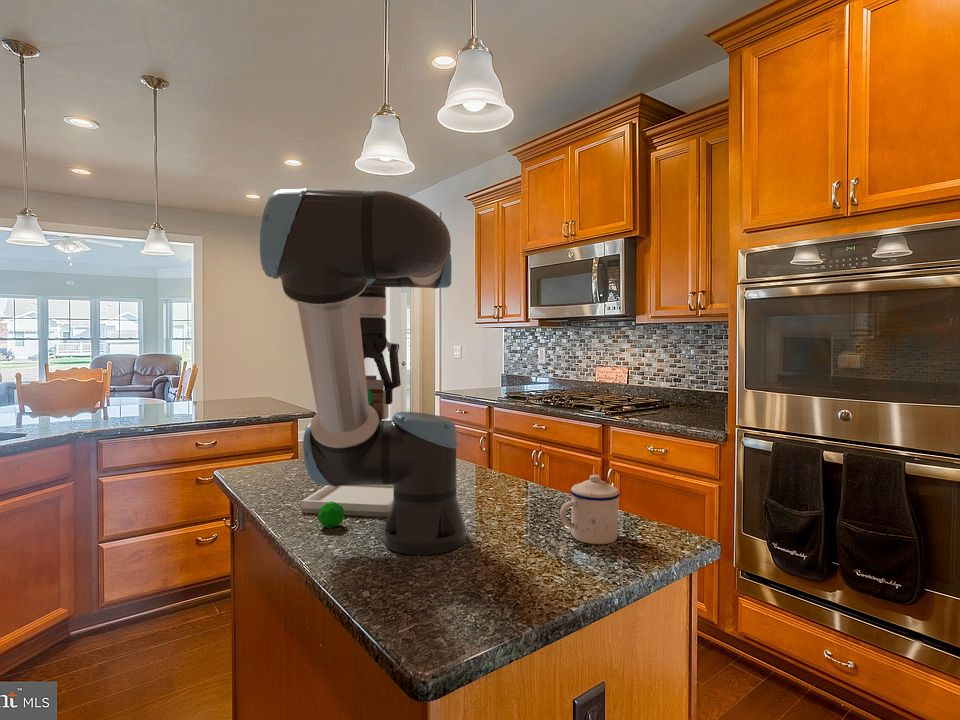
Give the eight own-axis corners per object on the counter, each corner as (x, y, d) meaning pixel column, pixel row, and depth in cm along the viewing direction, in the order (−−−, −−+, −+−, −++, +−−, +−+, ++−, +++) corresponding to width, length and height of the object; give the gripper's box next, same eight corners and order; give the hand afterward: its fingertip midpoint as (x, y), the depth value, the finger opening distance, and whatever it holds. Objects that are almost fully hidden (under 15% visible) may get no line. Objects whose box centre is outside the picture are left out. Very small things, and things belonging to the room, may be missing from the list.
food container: (349, 417, 128) (349, 375, 127) (375, 416, 130) (376, 375, 129) (354, 426, 116) (355, 379, 115) (382, 425, 118) (383, 380, 117)
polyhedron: (341, 531, 104) (341, 506, 104) (315, 531, 104) (315, 506, 104) (346, 522, 109) (346, 499, 109) (321, 522, 109) (321, 499, 109)
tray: (390, 517, 112) (390, 505, 112) (301, 512, 115) (301, 500, 115) (414, 491, 131) (414, 481, 131) (338, 487, 134) (338, 477, 134)
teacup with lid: (599, 525, 108) (600, 468, 108) (629, 541, 100) (630, 479, 99) (547, 534, 103) (548, 473, 103) (574, 551, 95) (575, 485, 94)
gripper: (415, 317, 124) (415, 416, 125) (335, 317, 127) (335, 414, 128) (406, 316, 116) (405, 422, 117) (320, 316, 120) (321, 419, 121)
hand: (369, 417), depth 123 cm, fingers closed on food container, 7 cm apart
